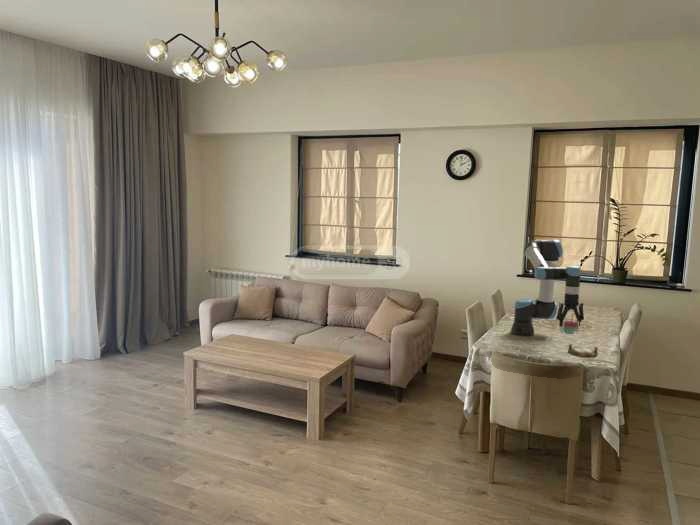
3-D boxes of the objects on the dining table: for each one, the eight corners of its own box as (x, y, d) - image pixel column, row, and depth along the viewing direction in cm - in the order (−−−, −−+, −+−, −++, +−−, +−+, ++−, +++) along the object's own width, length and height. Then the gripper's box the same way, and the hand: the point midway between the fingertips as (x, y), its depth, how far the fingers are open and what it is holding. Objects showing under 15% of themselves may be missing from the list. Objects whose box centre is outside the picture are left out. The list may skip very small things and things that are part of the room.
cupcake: (569, 330, 309) (570, 310, 308) (580, 334, 302) (581, 314, 300) (557, 332, 306) (559, 311, 305) (568, 335, 298) (570, 315, 297)
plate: (577, 357, 304) (578, 350, 303) (562, 349, 320) (563, 342, 319) (603, 356, 306) (603, 349, 306) (587, 348, 322) (587, 341, 321)
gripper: (557, 294, 296) (555, 333, 299) (592, 294, 298) (589, 333, 301) (551, 292, 303) (548, 330, 306) (585, 291, 306) (582, 329, 309)
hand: (569, 331), depth 304 cm, fingers closed on cupcake, 8 cm apart
